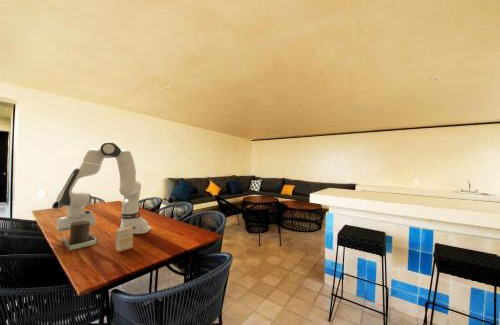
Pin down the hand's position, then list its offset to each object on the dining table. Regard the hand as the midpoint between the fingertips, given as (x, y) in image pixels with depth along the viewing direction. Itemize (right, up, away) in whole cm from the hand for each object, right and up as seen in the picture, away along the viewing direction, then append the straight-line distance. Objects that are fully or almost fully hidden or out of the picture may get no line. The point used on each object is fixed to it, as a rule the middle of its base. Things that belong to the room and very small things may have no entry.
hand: (78, 233), depth 135 cm
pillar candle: (+4, -6, -3) cm, 8 cm away
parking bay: (+2, -5, -2) cm, 6 cm away
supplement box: (+37, -7, -10) cm, 38 cm away
